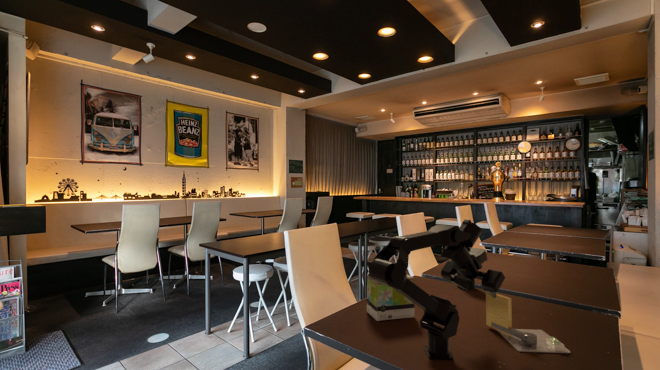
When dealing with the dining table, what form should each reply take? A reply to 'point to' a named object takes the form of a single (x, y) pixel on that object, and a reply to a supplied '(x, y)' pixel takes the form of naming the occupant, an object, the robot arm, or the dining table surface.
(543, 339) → the plate
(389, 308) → the tea box
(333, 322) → the dining table surface
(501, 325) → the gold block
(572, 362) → the dining table surface
